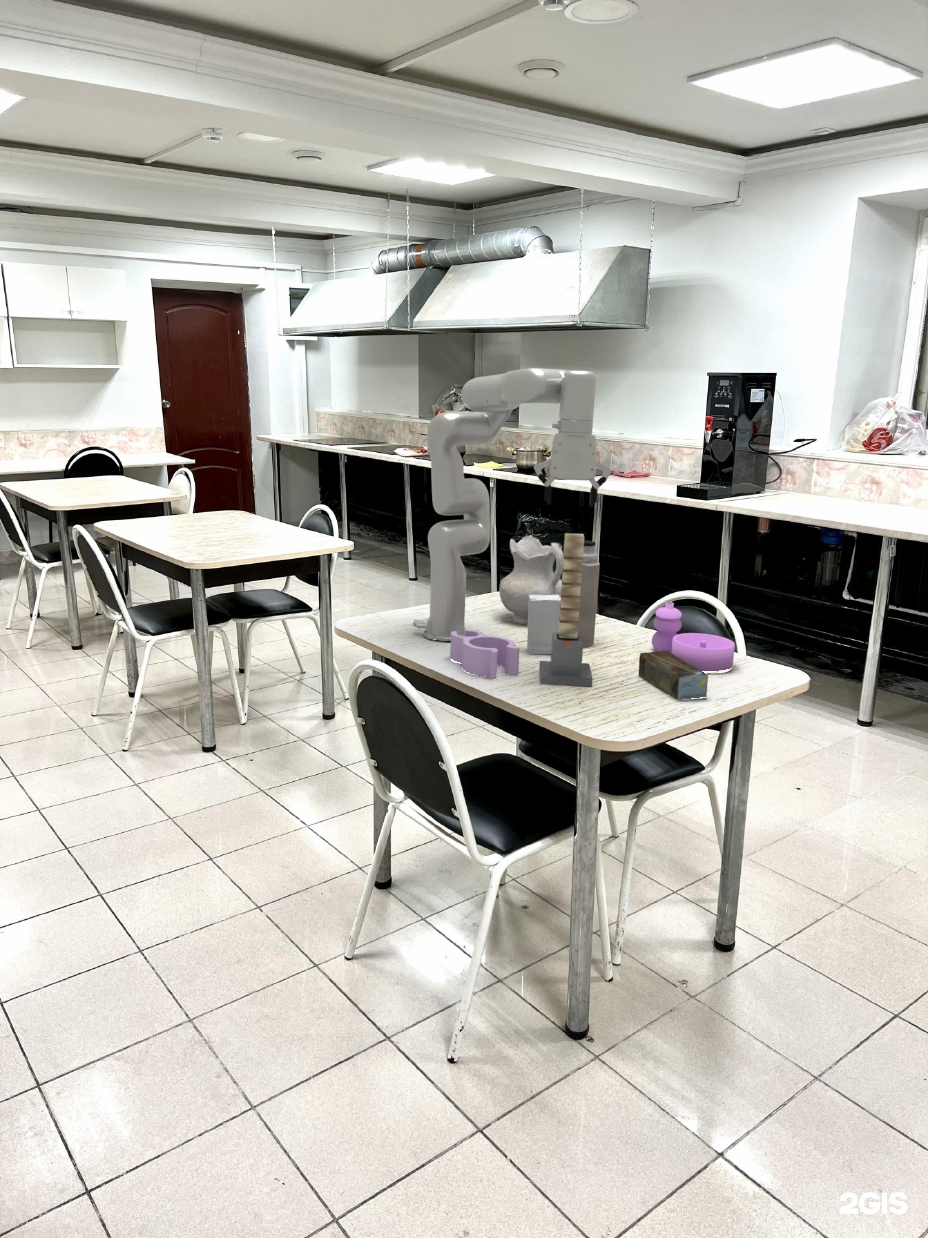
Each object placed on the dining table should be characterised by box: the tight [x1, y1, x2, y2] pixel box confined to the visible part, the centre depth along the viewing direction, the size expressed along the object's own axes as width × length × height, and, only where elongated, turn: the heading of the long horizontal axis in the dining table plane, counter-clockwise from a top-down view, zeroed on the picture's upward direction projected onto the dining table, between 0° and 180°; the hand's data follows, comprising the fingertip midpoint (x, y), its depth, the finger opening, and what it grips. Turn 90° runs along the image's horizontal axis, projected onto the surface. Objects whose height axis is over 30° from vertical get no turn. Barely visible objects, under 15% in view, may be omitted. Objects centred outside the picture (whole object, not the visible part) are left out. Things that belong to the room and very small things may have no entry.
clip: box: [449, 628, 521, 680], centre depth 222 cm, size 20×12×7 cm, turn 35°
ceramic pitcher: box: [498, 535, 564, 625], centre depth 266 cm, size 22×20×25 cm
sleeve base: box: [538, 632, 594, 688], centre depth 216 cm, size 12×12×10 cm
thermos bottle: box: [578, 540, 600, 648], centre depth 243 cm, size 8×8×28 cm
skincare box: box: [526, 595, 561, 655], centre depth 236 cm, size 8×6×15 cm
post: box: [558, 532, 585, 639], centre depth 212 cm, size 4×4×24 cm
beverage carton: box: [638, 650, 709, 701], centre depth 213 cm, size 8×19×7 cm, turn 17°
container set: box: [651, 601, 736, 671], centre depth 234 cm, size 25×15×13 cm, turn 29°
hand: (570, 504), depth 207 cm, fingers open, 9 cm apart
